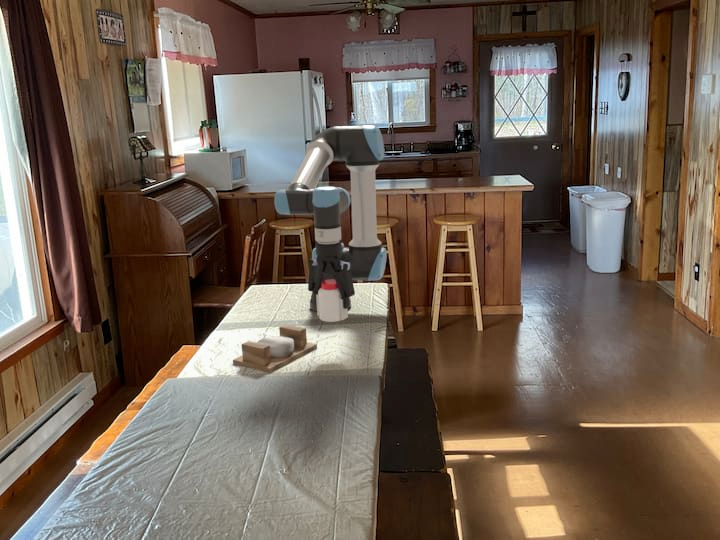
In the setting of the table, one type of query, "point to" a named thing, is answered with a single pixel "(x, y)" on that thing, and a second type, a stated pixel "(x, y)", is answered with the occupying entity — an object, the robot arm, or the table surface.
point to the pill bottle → (329, 301)
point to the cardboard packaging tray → (275, 349)
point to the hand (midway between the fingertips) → (332, 316)
